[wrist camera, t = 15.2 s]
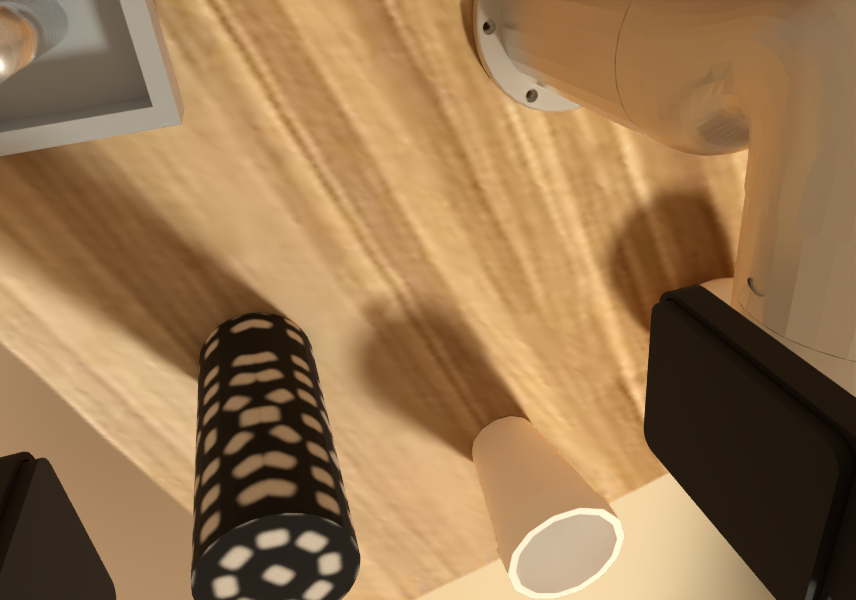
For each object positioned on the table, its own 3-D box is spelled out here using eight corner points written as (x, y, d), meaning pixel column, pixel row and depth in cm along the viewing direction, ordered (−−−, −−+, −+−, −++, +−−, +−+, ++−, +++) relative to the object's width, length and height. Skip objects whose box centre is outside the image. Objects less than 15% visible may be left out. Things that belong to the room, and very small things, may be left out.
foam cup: (462, 405, 58) (520, 516, 47) (559, 397, 61) (635, 500, 50) (450, 489, 63) (500, 608, 52) (541, 478, 65) (607, 589, 54)
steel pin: (56, -13, 36) (-7, 8, 26) (76, 42, 37) (23, 83, 27) (0, -5, 35) (-87, 19, 25) (22, 50, 37) (-52, 95, 27)
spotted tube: (175, 373, 49) (154, 602, 33) (247, 292, 48) (264, 488, 31) (266, 422, 54) (290, 649, 37) (335, 349, 52) (392, 549, 35)
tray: (117, -122, 35) (107, -127, 32) (184, 108, 41) (181, 124, 38) (-137, -94, 33) (-177, -97, 30) (-28, 145, 39) (-51, 165, 36)
